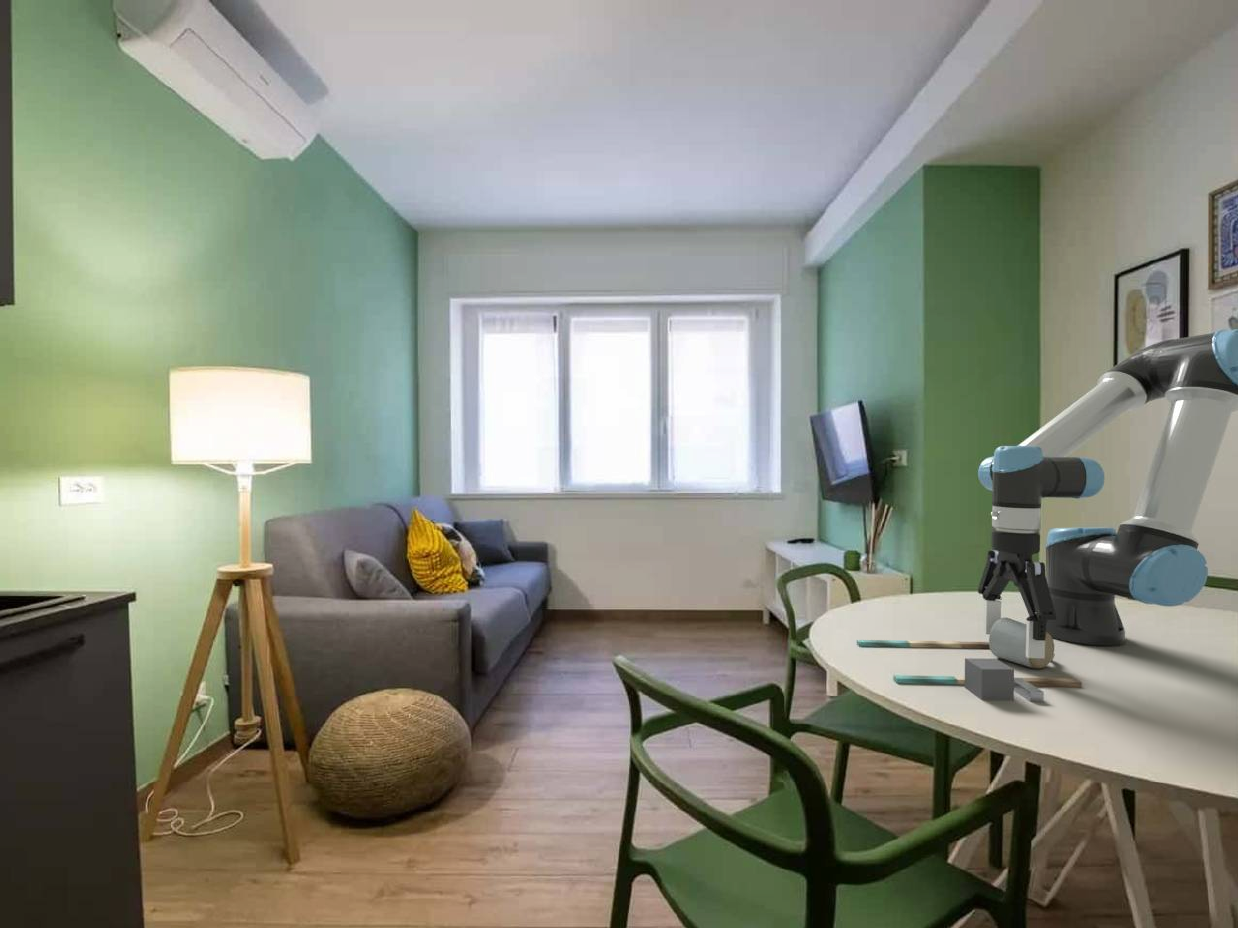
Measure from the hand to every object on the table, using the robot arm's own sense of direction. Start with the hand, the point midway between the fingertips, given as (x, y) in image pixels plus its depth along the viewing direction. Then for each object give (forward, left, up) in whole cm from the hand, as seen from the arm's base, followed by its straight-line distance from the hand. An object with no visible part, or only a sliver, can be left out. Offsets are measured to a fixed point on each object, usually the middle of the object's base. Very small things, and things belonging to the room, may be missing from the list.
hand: (1012, 645), depth 112 cm
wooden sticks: (+10, 0, -4) cm, 10 cm away
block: (+9, +14, -1) cm, 17 cm away
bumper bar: (+6, +14, -4) cm, 15 cm away
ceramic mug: (-3, -2, -4) cm, 5 cm away
